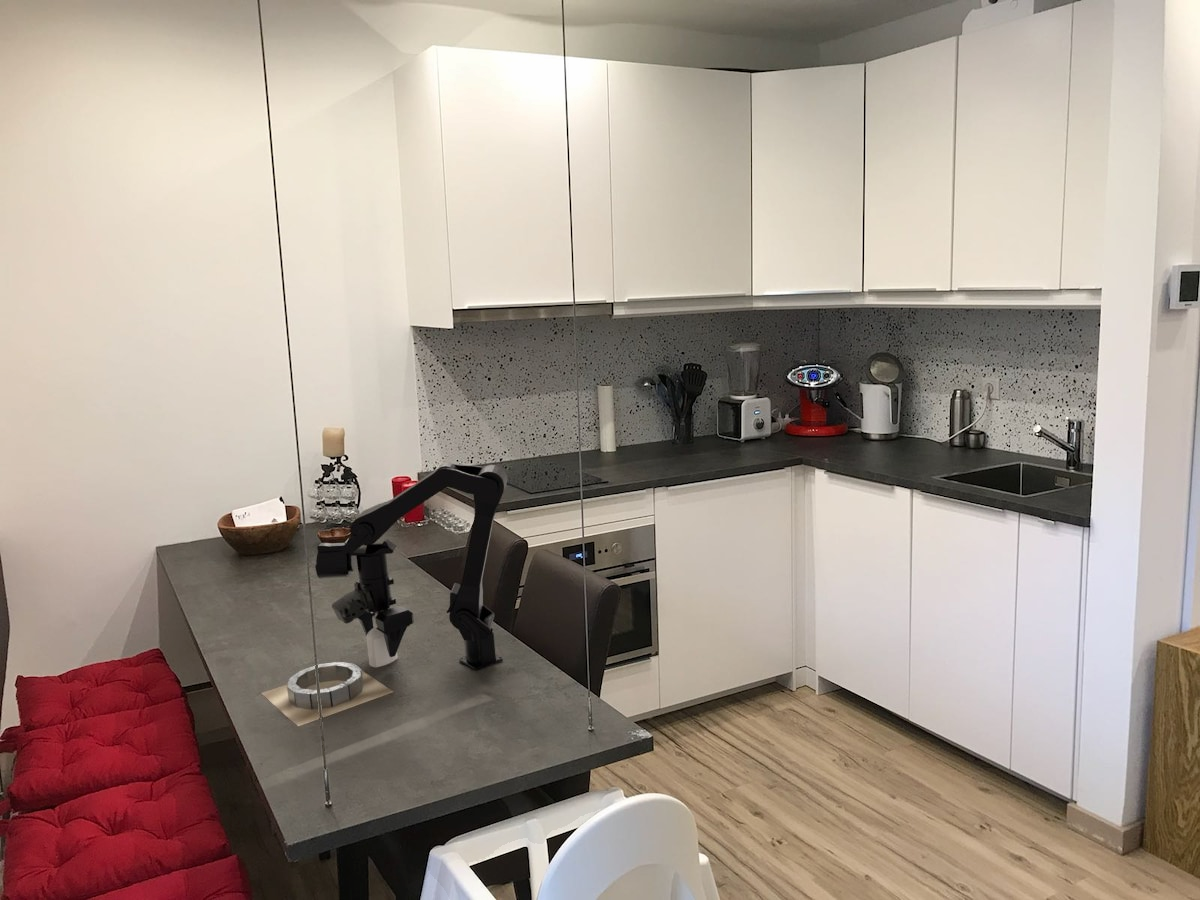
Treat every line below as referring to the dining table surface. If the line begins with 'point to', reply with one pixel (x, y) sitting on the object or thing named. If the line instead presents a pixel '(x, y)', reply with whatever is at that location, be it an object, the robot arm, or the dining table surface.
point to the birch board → (304, 716)
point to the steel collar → (330, 695)
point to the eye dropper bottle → (378, 647)
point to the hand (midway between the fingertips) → (382, 650)
